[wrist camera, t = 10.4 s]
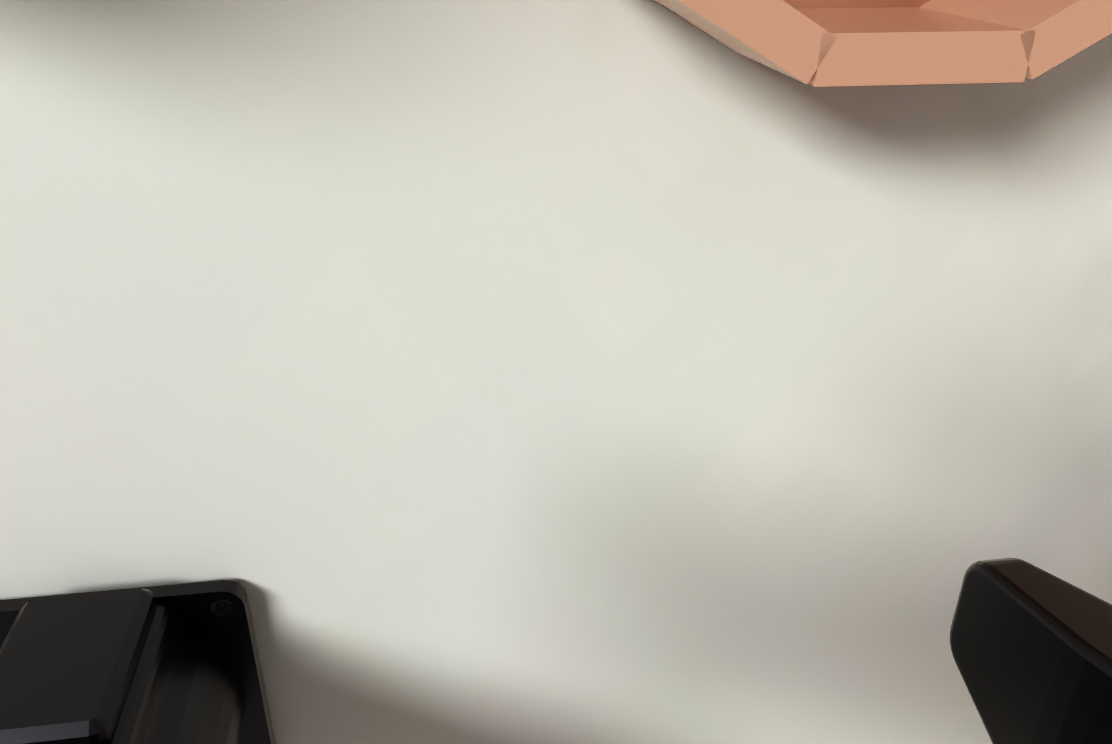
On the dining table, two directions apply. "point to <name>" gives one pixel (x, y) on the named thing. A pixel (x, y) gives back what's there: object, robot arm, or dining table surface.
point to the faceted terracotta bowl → (902, 37)
